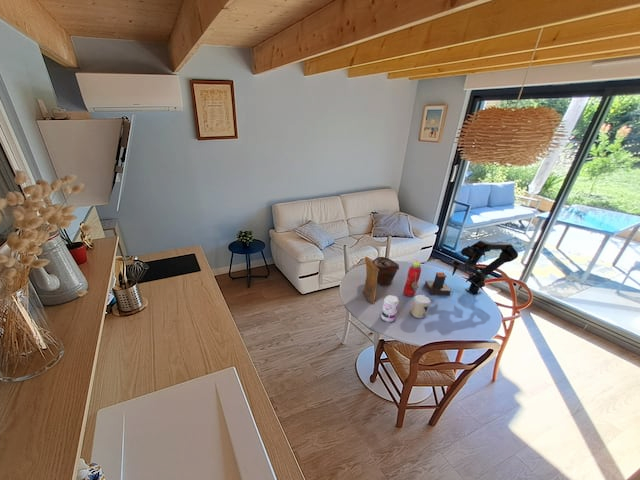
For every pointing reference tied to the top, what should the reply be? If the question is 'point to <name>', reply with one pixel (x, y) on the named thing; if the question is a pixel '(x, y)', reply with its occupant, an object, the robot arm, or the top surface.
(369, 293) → the pancake mix bag
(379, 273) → the brown flower pot
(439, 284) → the pad post
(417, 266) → the water bottle
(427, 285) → the base pad
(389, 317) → the supplement can
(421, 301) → the coffee cup
